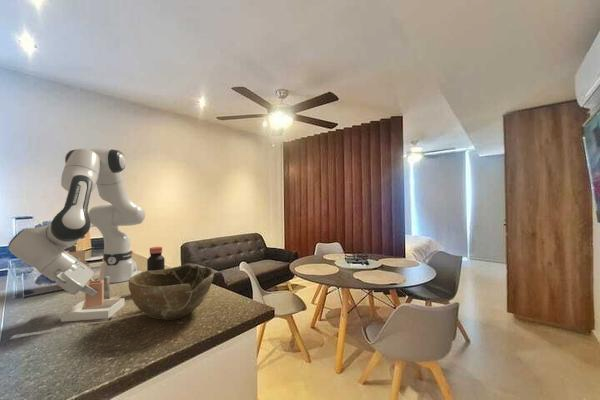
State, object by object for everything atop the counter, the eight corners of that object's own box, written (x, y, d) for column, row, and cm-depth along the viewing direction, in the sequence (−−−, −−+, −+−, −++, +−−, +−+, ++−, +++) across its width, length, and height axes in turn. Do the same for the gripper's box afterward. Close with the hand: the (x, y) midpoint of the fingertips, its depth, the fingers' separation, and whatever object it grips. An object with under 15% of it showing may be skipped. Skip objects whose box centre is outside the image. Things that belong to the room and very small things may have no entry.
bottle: (167, 290, 122) (167, 246, 123) (158, 295, 116) (158, 249, 116) (153, 289, 123) (153, 246, 123) (143, 295, 116) (143, 248, 117)
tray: (83, 310, 100) (83, 300, 100) (124, 307, 103) (124, 298, 103) (60, 324, 88) (60, 314, 88) (108, 321, 91) (108, 310, 91)
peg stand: (94, 301, 109) (94, 275, 109) (121, 297, 113) (121, 272, 113) (90, 309, 101) (90, 281, 101) (118, 304, 105) (118, 278, 105)
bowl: (230, 310, 99) (230, 269, 99) (161, 343, 76) (161, 290, 76) (183, 297, 113) (182, 261, 113) (112, 322, 90) (112, 277, 90)
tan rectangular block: (59, 284, 132) (59, 239, 133) (82, 280, 139) (82, 238, 139) (62, 290, 124) (63, 242, 124) (86, 285, 130) (86, 240, 130)
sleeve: (88, 303, 96) (88, 281, 96) (103, 301, 98) (103, 279, 99) (85, 308, 92) (85, 284, 92) (101, 305, 94) (101, 282, 95)
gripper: (61, 266, 83) (99, 292, 88) (77, 255, 101) (108, 277, 106) (41, 282, 81) (82, 309, 86) (61, 268, 99) (94, 290, 103)
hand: (97, 291), depth 96 cm, fingers closed on sleeve, 5 cm apart
